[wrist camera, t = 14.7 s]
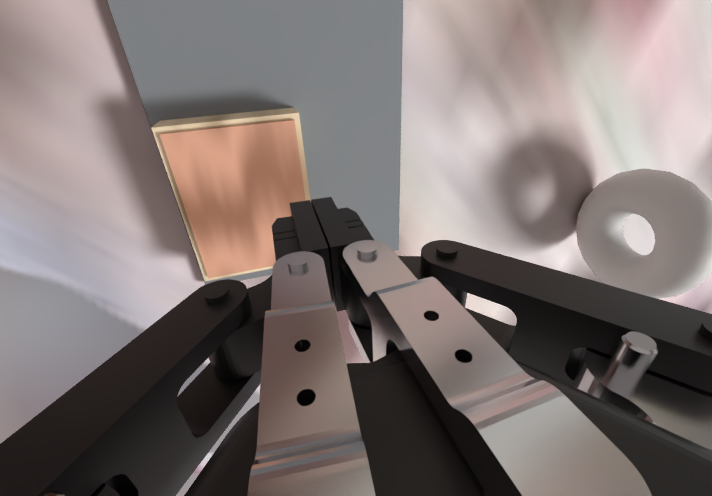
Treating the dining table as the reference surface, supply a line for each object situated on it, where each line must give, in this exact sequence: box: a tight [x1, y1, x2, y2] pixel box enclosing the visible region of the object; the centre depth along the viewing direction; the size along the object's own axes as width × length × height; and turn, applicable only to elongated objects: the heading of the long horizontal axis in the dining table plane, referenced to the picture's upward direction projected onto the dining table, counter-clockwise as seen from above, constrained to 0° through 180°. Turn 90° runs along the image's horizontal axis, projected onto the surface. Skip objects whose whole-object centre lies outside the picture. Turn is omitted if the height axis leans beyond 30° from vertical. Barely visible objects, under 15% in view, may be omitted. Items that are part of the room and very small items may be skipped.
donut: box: [576, 169, 712, 299], centre depth 26 cm, size 10×4×10 cm, turn 3°
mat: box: [107, 0, 403, 285], centre depth 20 cm, size 18×14×1 cm
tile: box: [151, 107, 311, 281], centre depth 20 cm, size 9×2×7 cm
